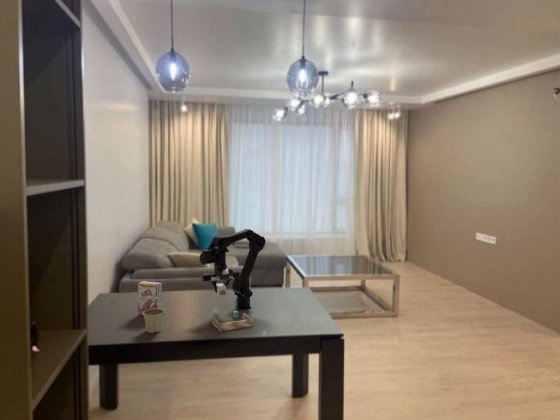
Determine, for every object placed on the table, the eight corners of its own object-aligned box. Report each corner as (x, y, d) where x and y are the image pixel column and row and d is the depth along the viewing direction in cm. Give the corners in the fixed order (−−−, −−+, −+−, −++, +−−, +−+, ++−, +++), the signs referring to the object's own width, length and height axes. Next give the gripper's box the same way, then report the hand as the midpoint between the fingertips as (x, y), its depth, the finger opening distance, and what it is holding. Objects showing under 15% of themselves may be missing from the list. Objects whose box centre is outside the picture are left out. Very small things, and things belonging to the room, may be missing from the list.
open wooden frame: (244, 318, 208) (244, 312, 208) (252, 325, 198) (252, 319, 198) (212, 323, 201) (212, 317, 201) (219, 331, 192) (218, 324, 191)
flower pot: (145, 327, 197) (144, 308, 196) (166, 326, 198) (166, 308, 197) (140, 334, 188) (140, 315, 187) (162, 334, 188) (162, 314, 188)
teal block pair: (236, 316, 212) (236, 310, 211) (238, 317, 210) (238, 311, 210) (213, 320, 206) (213, 313, 206) (214, 321, 205) (214, 315, 204)
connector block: (222, 292, 218) (222, 283, 218) (226, 296, 211) (226, 286, 211) (214, 293, 216) (214, 284, 216) (219, 297, 210) (219, 287, 209)
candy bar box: (137, 315, 213) (136, 283, 211) (144, 312, 217) (143, 280, 216) (157, 318, 209) (156, 285, 208) (163, 315, 214) (162, 282, 212)
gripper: (206, 266, 202) (206, 299, 203) (243, 263, 210) (243, 294, 211) (199, 262, 212) (200, 293, 213) (235, 259, 220) (236, 289, 221)
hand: (220, 292), depth 214 cm, fingers closed on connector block, 4 cm apart
